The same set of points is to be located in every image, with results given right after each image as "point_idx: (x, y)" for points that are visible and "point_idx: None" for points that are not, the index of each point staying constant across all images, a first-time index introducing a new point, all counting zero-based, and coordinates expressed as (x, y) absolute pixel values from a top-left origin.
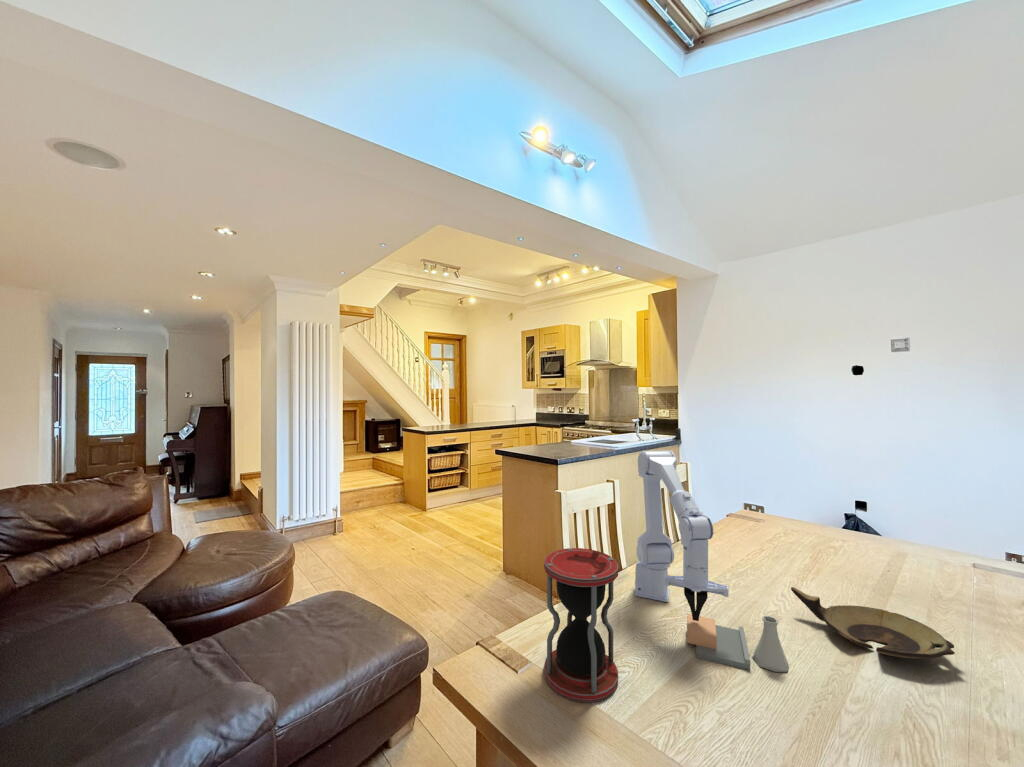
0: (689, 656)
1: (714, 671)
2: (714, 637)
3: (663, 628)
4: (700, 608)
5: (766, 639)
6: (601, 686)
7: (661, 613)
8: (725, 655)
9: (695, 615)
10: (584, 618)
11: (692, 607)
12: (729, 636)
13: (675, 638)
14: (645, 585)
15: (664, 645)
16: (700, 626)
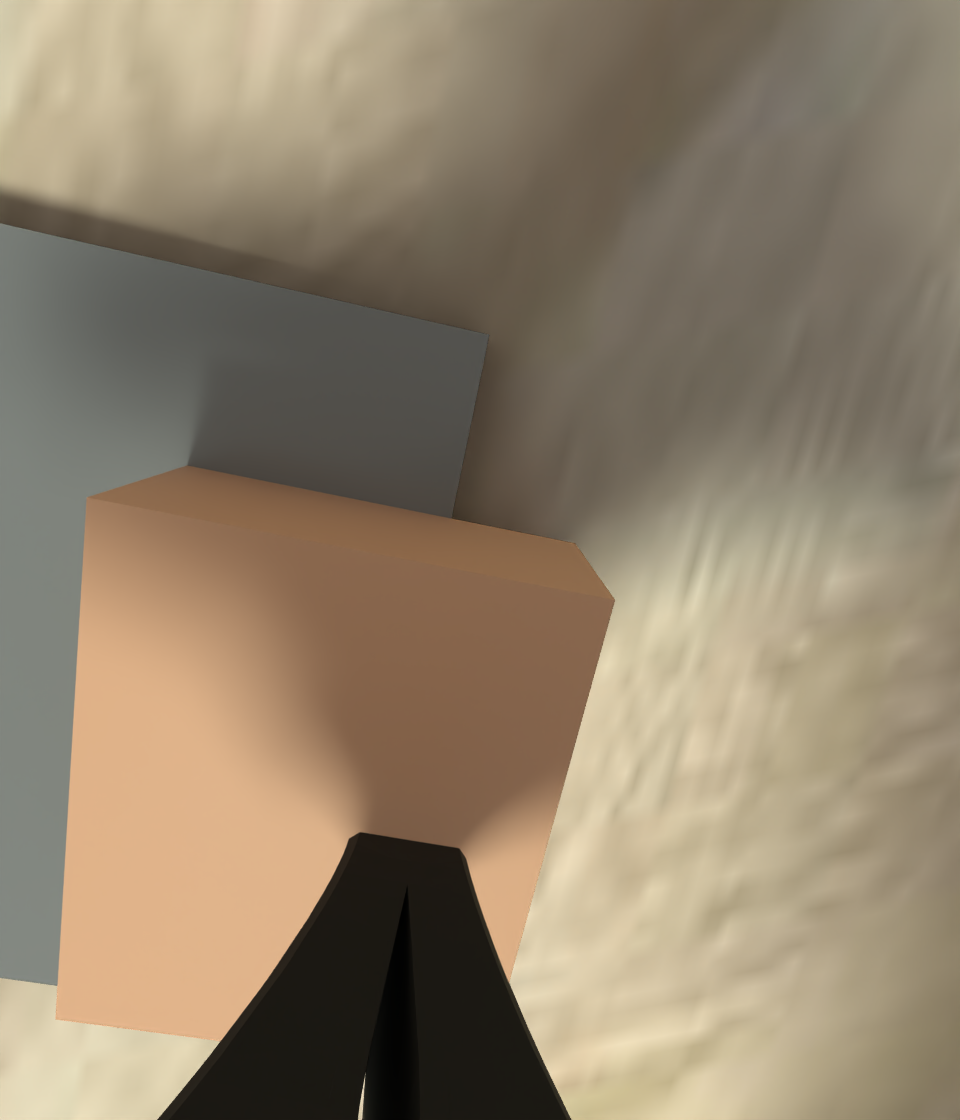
0: (575, 339)
1: (307, 50)
2: (135, 499)
3: (750, 848)
4: (214, 1109)
5: None
6: None
7: (695, 1103)
8: (78, 336)
9: (407, 915)
10: None
11: (497, 1118)
12: None
13: (658, 686)
14: None
15: (838, 513)
16: (335, 768)
